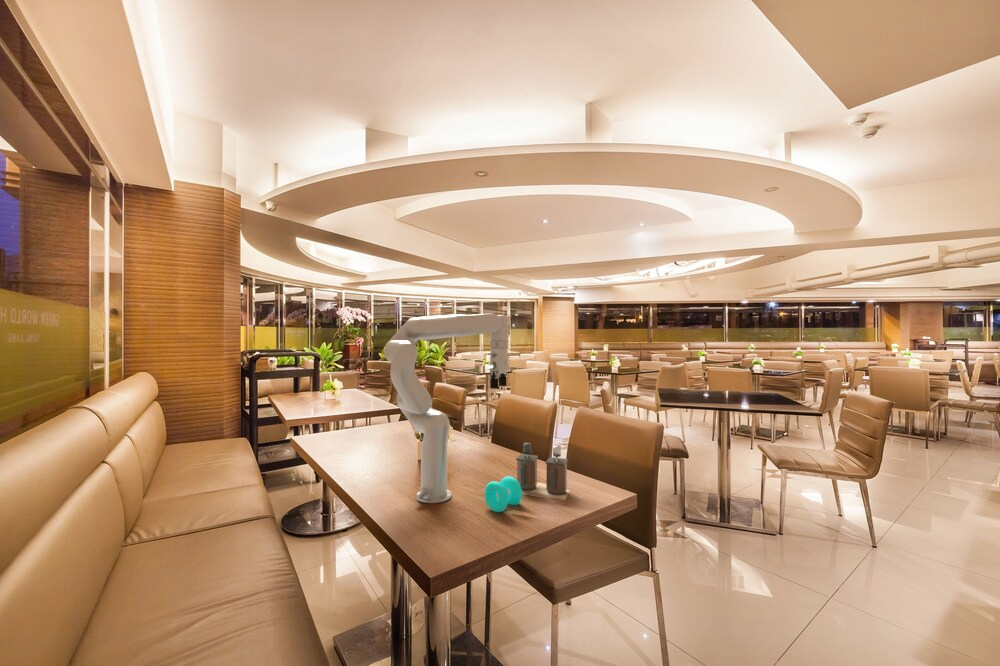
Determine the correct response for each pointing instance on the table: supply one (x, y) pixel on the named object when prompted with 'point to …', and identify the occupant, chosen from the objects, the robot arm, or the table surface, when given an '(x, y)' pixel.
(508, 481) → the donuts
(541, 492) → the serving board
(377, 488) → the table surface
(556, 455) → the plunger
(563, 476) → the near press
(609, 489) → the table surface
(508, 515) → the table surface
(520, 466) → the far press
